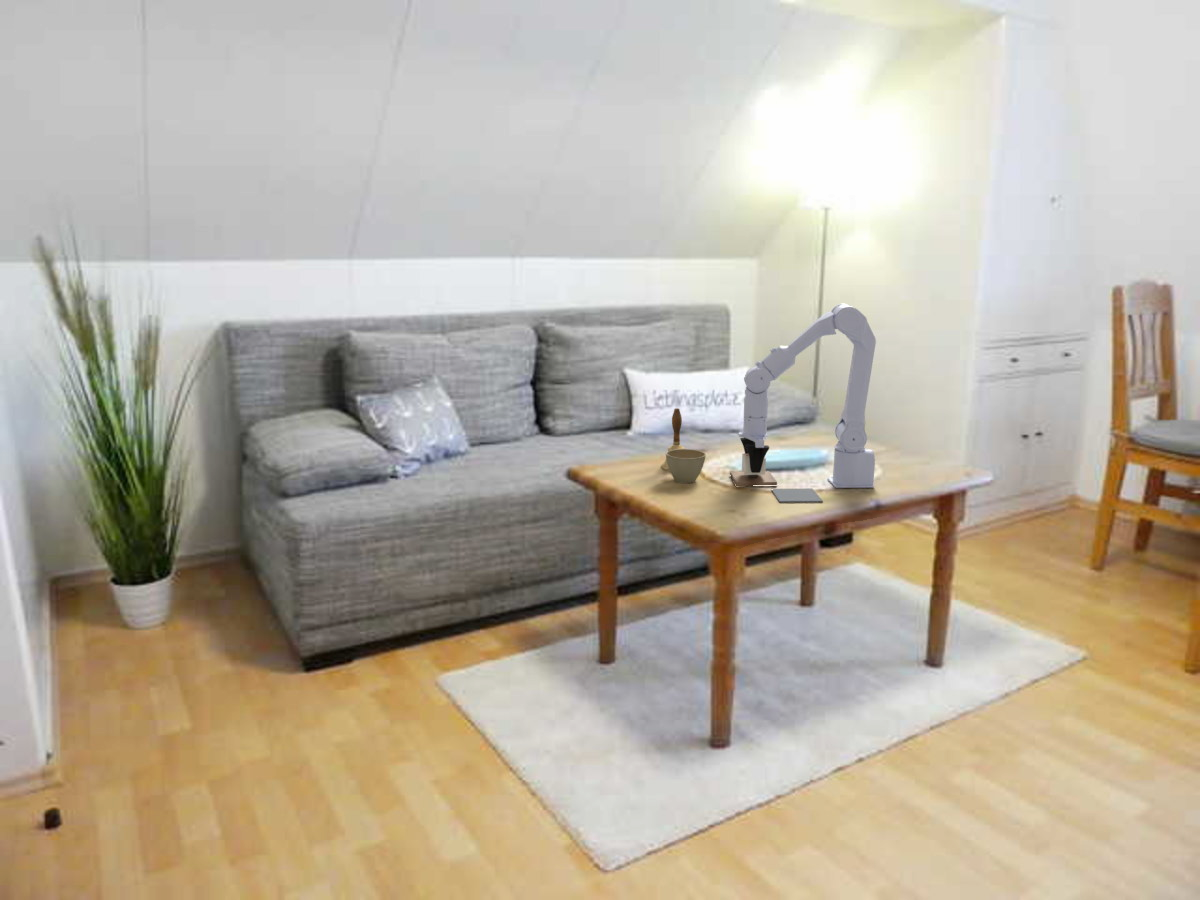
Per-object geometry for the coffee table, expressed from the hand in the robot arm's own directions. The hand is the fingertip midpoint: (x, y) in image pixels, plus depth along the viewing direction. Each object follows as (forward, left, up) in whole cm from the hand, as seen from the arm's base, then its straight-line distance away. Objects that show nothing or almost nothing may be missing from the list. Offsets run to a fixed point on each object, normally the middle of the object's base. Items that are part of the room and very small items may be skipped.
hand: (753, 468), depth 215 cm
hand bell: (+18, -14, -3) cm, 23 cm away
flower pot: (+17, -1, -3) cm, 17 cm away
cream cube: (0, 0, -1) cm, 1 cm away
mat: (-8, +13, -3) cm, 16 cm away
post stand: (0, 0, -3) cm, 3 cm away
